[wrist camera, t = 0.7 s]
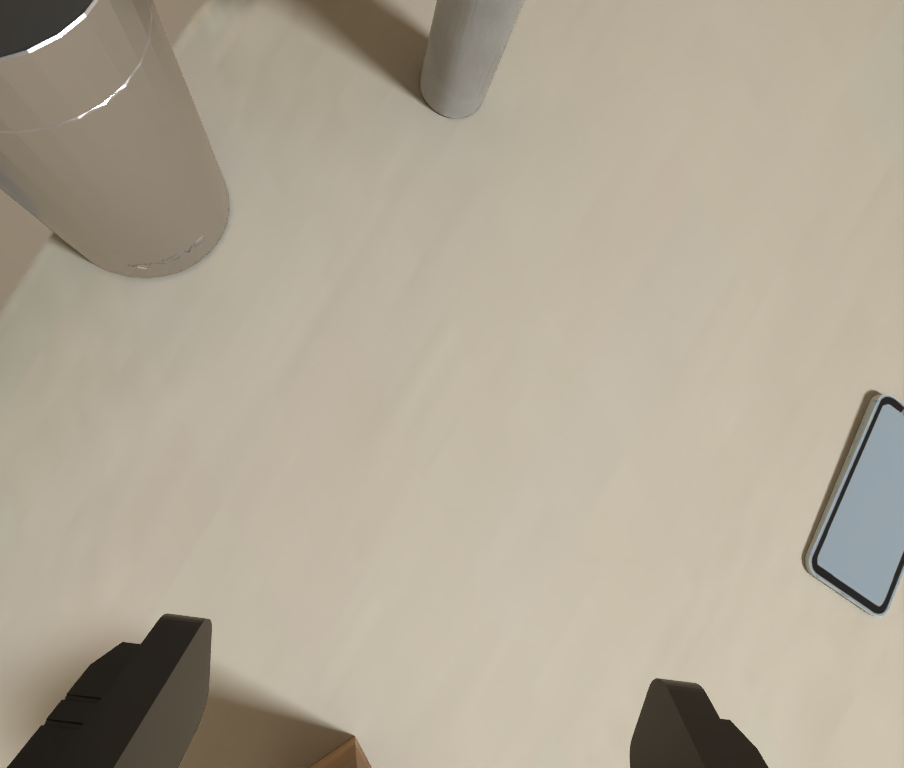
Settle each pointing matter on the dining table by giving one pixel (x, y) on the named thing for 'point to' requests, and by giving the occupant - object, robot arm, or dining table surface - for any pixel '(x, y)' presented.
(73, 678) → the dining table surface
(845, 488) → the smartphone
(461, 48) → the planter
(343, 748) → the brown tall block
